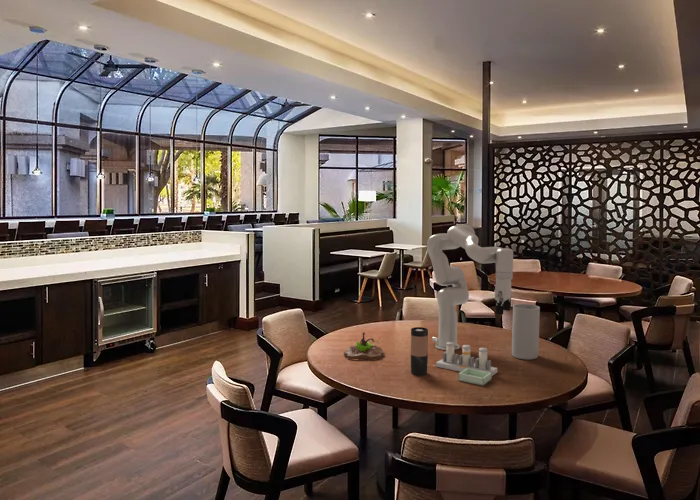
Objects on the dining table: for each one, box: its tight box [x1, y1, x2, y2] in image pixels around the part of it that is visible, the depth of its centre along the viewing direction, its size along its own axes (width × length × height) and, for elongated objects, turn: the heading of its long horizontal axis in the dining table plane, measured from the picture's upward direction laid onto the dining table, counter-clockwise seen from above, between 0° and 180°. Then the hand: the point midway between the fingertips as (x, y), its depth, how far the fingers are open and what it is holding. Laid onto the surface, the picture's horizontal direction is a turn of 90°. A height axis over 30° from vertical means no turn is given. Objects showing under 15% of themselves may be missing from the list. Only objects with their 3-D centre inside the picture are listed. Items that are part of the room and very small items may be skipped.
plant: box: [343, 332, 385, 361], centre depth 265 cm, size 20×20×11 cm
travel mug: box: [410, 326, 429, 376], centre depth 236 cm, size 8×8×20 cm
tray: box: [457, 368, 493, 387], centre depth 228 cm, size 11×9×3 cm
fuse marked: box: [461, 344, 472, 366], centre depth 241 cm, size 4×4×9 cm
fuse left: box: [445, 342, 455, 363], centre depth 246 cm, size 4×4×9 cm
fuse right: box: [478, 347, 489, 370], centre depth 237 cm, size 4×4×9 cm
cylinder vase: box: [511, 303, 541, 361], centre depth 261 cm, size 12×12×25 cm
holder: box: [435, 351, 498, 377], centre depth 242 cm, size 26×9×6 cm, turn 54°
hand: (503, 312), depth 244 cm, fingers open, 9 cm apart
